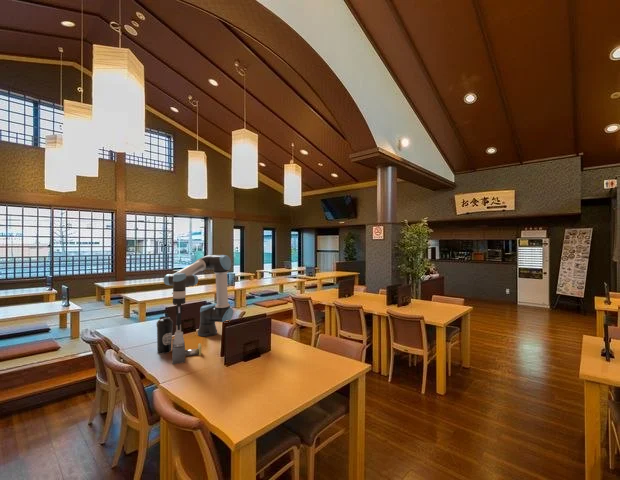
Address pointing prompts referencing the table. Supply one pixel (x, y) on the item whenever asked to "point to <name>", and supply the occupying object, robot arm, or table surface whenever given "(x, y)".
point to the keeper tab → (178, 338)
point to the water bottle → (164, 335)
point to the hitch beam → (178, 353)
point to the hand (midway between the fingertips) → (178, 334)
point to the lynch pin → (194, 351)
